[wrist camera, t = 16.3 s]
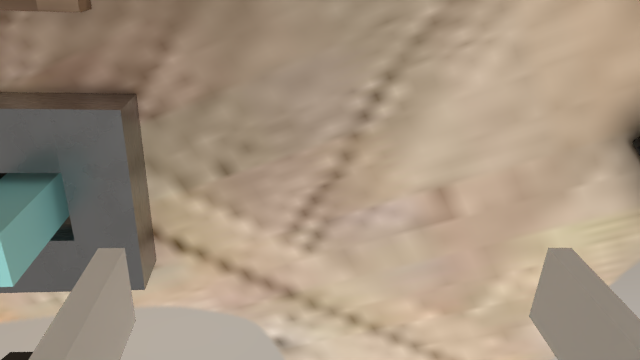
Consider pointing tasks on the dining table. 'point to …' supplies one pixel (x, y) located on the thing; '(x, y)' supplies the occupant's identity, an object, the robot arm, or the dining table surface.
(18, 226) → the peg
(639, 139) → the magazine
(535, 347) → the dining table surface
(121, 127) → the port
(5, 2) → the brown flat piece
